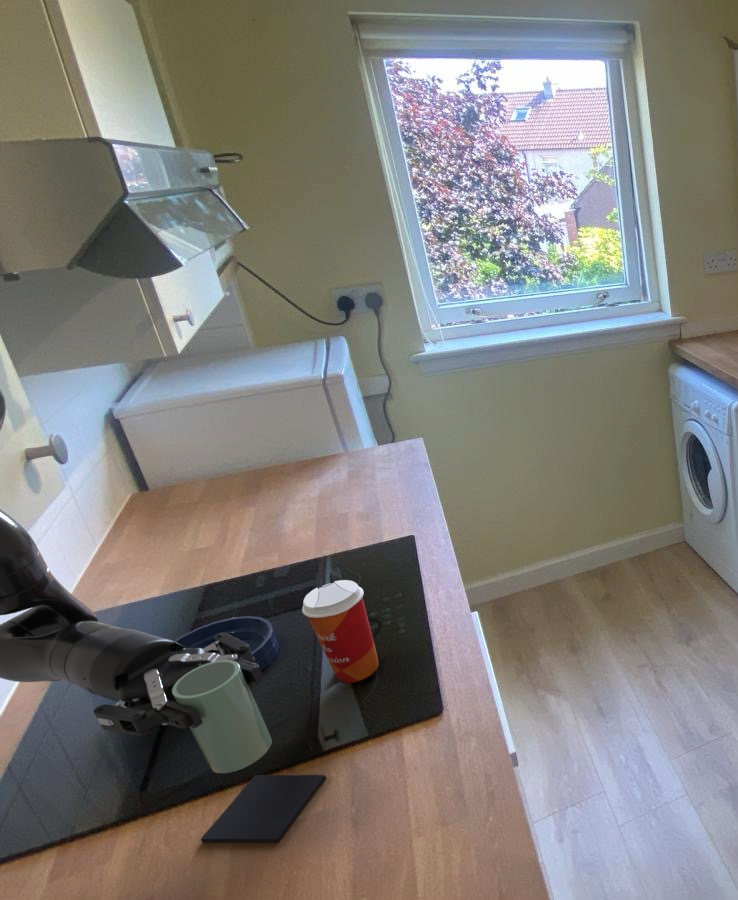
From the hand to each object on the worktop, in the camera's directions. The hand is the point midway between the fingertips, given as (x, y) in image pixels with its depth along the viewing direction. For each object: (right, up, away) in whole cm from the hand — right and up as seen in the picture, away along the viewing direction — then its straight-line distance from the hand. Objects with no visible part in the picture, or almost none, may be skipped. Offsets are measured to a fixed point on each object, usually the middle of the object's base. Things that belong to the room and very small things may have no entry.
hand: (228, 696), depth 80 cm
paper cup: (-4, -6, +30) cm, 31 cm away
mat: (-2, -16, +8) cm, 18 cm away
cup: (-2, -8, +4) cm, 9 cm away
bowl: (-26, -6, +32) cm, 41 cm away
